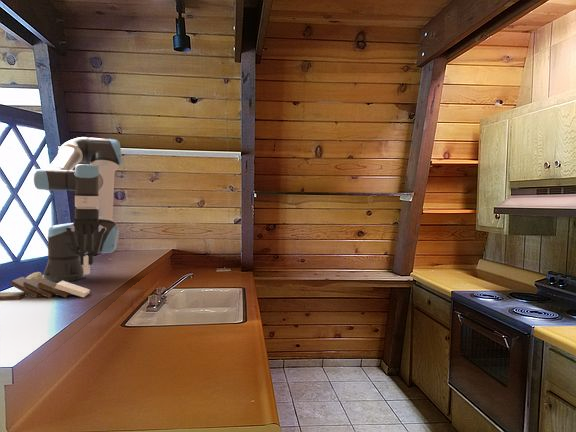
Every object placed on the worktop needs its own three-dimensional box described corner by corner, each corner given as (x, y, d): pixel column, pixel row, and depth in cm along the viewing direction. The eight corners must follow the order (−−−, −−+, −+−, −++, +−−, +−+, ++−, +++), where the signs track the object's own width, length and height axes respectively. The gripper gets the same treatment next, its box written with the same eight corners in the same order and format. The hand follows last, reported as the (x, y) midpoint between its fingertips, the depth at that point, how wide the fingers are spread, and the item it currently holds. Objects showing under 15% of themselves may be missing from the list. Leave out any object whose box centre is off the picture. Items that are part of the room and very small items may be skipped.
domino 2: (35, 298, 133) (10, 284, 133) (45, 293, 138) (20, 280, 138) (37, 294, 133) (11, 280, 133) (47, 289, 138) (22, 276, 138)
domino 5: (83, 297, 136) (54, 288, 134) (88, 293, 141) (60, 284, 139) (85, 293, 136) (56, 283, 134) (90, 289, 141) (62, 280, 139)
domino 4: (65, 297, 135) (37, 286, 133) (71, 293, 140) (43, 282, 138) (67, 293, 135) (39, 282, 133) (73, 289, 140) (45, 278, 138)
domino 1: (19, 300, 131) (-15, 301, 129) (25, 296, 136) (-7, 297, 134) (19, 295, 131) (-15, 296, 129) (25, 291, 136) (-7, 292, 134)
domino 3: (49, 298, 134) (22, 285, 133) (57, 293, 139) (31, 281, 138) (51, 294, 133) (24, 281, 133) (59, 289, 138) (33, 277, 137)
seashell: (45, 280, 149) (52, 273, 144) (38, 301, 144) (45, 294, 139) (22, 275, 144) (28, 267, 140) (13, 296, 139) (19, 289, 135)
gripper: (63, 208, 132) (63, 276, 133) (104, 208, 135) (104, 275, 136) (70, 207, 139) (70, 271, 140) (109, 207, 142) (108, 271, 143)
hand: (86, 273), depth 138 cm, fingers closed
